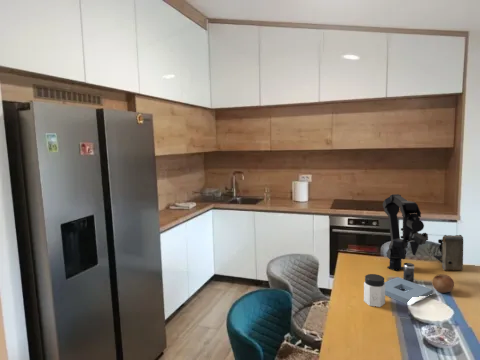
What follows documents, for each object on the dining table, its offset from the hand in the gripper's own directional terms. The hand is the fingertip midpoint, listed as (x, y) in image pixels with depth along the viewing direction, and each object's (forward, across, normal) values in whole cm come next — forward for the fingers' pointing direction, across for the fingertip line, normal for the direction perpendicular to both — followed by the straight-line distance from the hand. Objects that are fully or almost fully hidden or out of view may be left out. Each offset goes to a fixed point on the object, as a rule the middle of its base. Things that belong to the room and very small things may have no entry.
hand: (408, 256), depth 172 cm
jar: (+14, -32, -5) cm, 36 cm away
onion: (+14, +3, -16) cm, 21 cm away
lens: (+13, +1, 0) cm, 13 cm away
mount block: (+14, -13, -6) cm, 20 cm away
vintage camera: (+13, +36, 0) cm, 38 cm away
